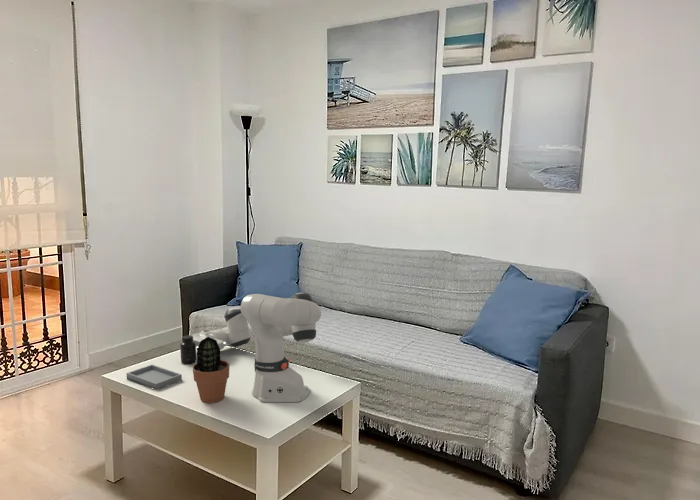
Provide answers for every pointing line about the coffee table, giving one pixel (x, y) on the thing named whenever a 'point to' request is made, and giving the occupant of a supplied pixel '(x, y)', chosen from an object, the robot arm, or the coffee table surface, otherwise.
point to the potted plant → (210, 371)
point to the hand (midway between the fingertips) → (191, 347)
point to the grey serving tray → (154, 376)
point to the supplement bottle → (188, 350)
